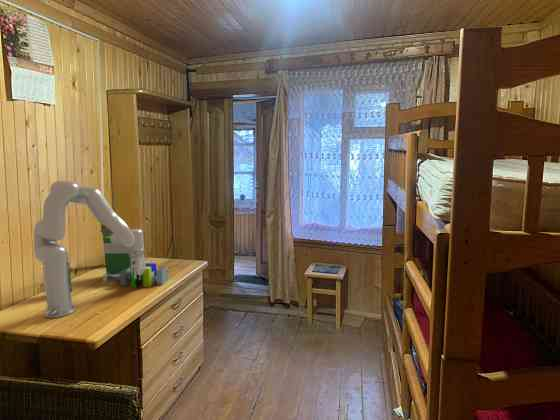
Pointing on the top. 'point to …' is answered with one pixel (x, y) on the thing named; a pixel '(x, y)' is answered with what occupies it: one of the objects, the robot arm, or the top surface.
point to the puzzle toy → (147, 275)
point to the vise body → (161, 274)
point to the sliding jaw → (120, 276)
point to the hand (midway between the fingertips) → (139, 286)
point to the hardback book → (115, 256)
